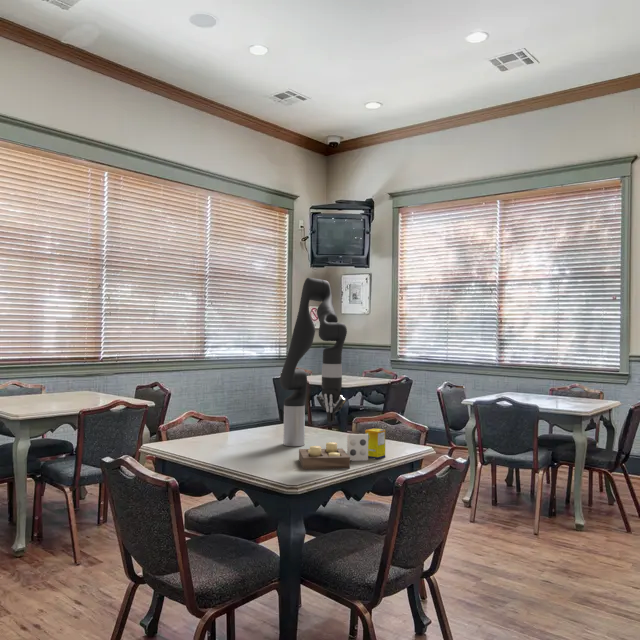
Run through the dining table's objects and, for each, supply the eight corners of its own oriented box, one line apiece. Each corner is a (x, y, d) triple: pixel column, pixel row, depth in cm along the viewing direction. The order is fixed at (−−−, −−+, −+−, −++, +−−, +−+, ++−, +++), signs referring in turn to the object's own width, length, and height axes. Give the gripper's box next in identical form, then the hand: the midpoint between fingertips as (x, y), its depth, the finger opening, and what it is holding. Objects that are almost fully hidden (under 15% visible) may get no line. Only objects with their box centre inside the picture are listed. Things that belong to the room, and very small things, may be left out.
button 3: (325, 450, 232) (325, 442, 232) (336, 450, 233) (336, 442, 233) (326, 452, 228) (326, 444, 228) (337, 452, 229) (337, 444, 229)
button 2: (309, 454, 224) (309, 445, 225) (320, 454, 225) (320, 445, 225) (310, 456, 220) (310, 448, 220) (321, 456, 221) (321, 447, 221)
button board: (299, 459, 234) (299, 449, 234) (342, 458, 236) (342, 448, 236) (303, 469, 217) (303, 458, 217) (349, 468, 219) (349, 457, 219)
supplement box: (373, 455, 244) (373, 428, 244) (385, 457, 240) (385, 429, 240) (364, 457, 239) (364, 429, 239) (377, 459, 235) (377, 431, 236)
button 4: (327, 461, 225) (327, 452, 225) (338, 460, 226) (339, 452, 226) (329, 463, 221) (329, 454, 221) (340, 463, 222) (340, 454, 222)
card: (347, 460, 233) (347, 434, 234) (367, 459, 234) (367, 433, 235) (347, 460, 233) (347, 434, 233) (368, 460, 234) (368, 434, 234)
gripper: (352, 376, 224) (351, 423, 224) (324, 374, 233) (323, 419, 232) (340, 377, 219) (339, 425, 218) (311, 375, 227) (310, 421, 227)
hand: (331, 422), depth 225 cm, fingers closed
